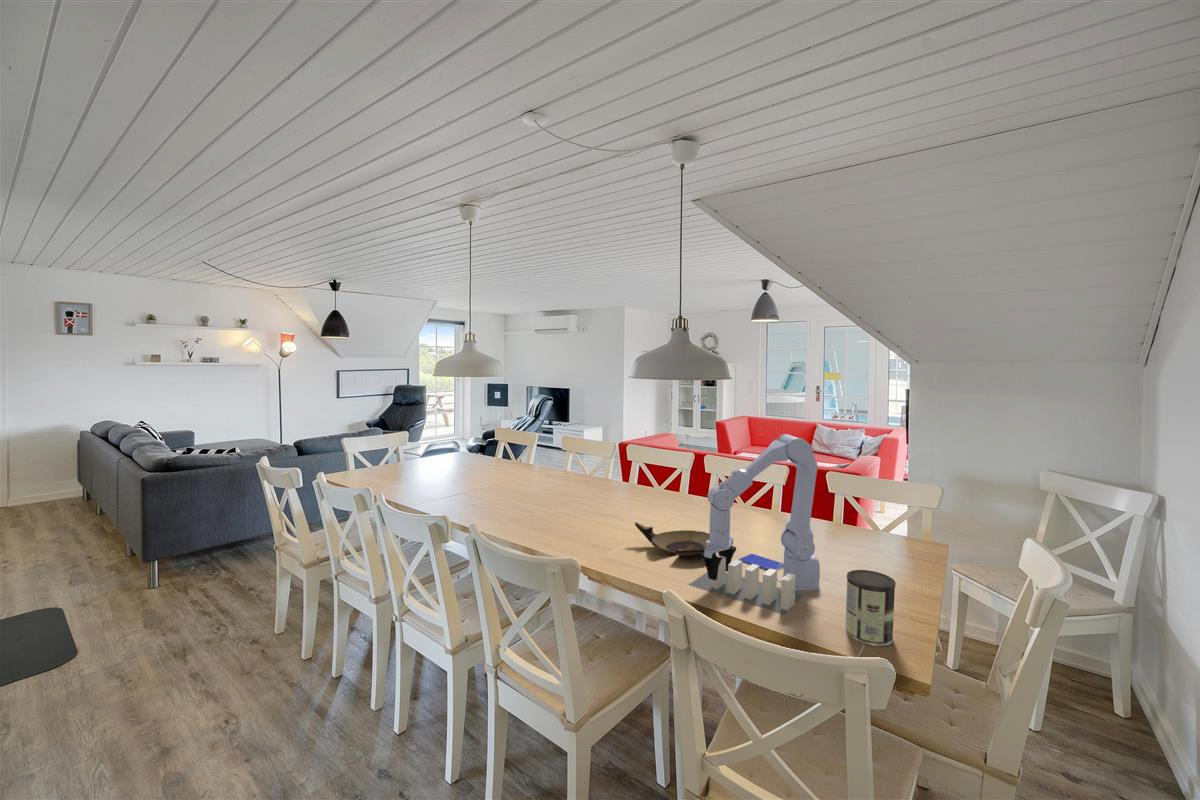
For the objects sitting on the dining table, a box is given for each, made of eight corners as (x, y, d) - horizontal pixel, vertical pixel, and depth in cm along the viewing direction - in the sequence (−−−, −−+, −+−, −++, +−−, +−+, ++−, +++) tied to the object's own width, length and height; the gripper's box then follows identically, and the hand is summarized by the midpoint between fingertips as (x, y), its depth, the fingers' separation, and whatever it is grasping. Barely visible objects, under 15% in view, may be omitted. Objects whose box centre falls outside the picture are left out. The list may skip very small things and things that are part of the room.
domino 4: (776, 598, 141) (777, 570, 141) (769, 605, 137) (770, 576, 137) (769, 596, 143) (769, 568, 142) (762, 602, 139) (762, 574, 138)
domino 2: (741, 588, 148) (742, 561, 147) (734, 594, 144) (734, 566, 143) (735, 586, 149) (735, 559, 148) (727, 592, 145) (728, 564, 144)
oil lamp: (692, 572, 160) (692, 548, 160) (625, 545, 183) (625, 524, 182) (734, 555, 175) (735, 533, 174) (667, 532, 197) (668, 512, 197)
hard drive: (786, 563, 164) (752, 553, 174) (772, 570, 159) (738, 558, 168) (786, 568, 164) (752, 557, 174) (772, 575, 159) (738, 563, 168)
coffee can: (874, 623, 129) (877, 568, 128) (903, 645, 119) (906, 586, 118) (835, 625, 128) (838, 569, 127) (860, 648, 118) (863, 588, 117)
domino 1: (725, 583, 151) (725, 556, 150) (717, 589, 147) (718, 562, 146) (719, 581, 152) (719, 555, 151) (711, 587, 148) (711, 560, 148)
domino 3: (758, 593, 144) (759, 565, 144) (751, 599, 141) (752, 571, 140) (751, 591, 146) (752, 563, 145) (744, 597, 142) (745, 569, 141)
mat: (803, 595, 144) (803, 594, 144) (784, 616, 132) (784, 614, 132) (712, 569, 162) (712, 568, 162) (688, 585, 150) (688, 584, 150)
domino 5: (794, 604, 138) (795, 575, 138) (788, 610, 134) (789, 581, 134) (787, 601, 139) (788, 573, 139) (780, 608, 136) (781, 579, 135)
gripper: (718, 520, 156) (717, 563, 157) (695, 532, 145) (694, 579, 146) (740, 524, 152) (739, 569, 153) (718, 537, 141) (716, 585, 142)
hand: (718, 574), depth 149 cm, fingers open, 7 cm apart
